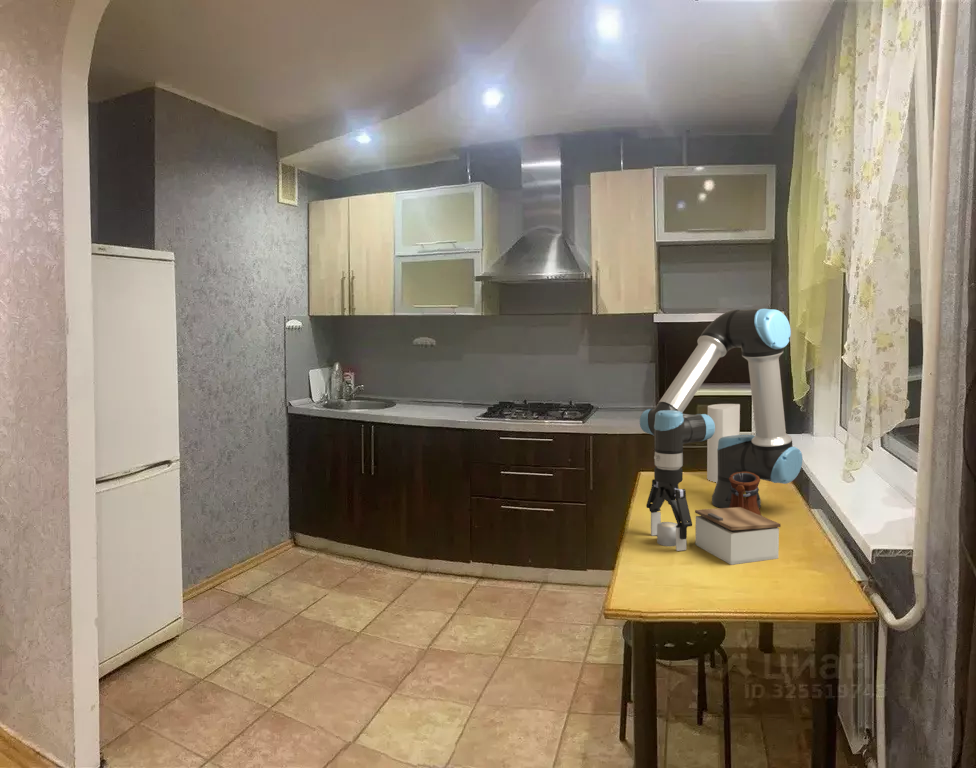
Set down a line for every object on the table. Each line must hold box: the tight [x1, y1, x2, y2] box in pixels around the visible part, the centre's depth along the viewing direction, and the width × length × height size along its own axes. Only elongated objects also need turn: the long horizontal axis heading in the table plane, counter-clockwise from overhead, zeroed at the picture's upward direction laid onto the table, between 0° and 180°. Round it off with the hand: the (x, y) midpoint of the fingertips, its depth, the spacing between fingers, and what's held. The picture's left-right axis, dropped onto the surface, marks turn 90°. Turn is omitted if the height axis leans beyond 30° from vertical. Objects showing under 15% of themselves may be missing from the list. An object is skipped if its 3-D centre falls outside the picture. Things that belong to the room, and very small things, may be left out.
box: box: [695, 515, 780, 566], centre depth 179 cm, size 14×16×8 cm
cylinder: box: [706, 403, 741, 484], centre depth 255 cm, size 17×17×28 cm
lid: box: [694, 507, 782, 530], centre depth 178 cm, size 14×16×1 cm
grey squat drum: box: [656, 521, 678, 547], centre depth 187 cm, size 6×6×5 cm
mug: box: [729, 472, 763, 516], centre depth 199 cm, size 18×12×15 cm, turn 153°
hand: (667, 542), depth 187 cm, fingers open, 13 cm apart
